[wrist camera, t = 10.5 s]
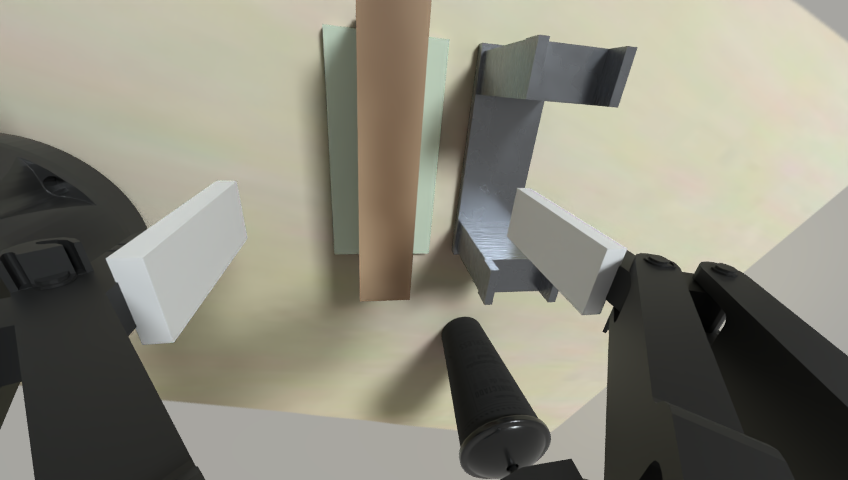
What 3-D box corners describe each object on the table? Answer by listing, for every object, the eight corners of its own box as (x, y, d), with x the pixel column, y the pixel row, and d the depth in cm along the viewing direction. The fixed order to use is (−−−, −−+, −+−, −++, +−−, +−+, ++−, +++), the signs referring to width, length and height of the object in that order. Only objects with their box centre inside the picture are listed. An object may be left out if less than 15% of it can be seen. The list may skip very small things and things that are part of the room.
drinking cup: (473, 295, 35) (583, 511, 17) (502, 334, 38) (617, 548, 21) (417, 329, 36) (466, 568, 18) (449, 365, 39) (517, 594, 22)
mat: (335, 251, 30) (334, 254, 29) (323, 25, 22) (322, 24, 21) (427, 250, 31) (428, 253, 31) (447, 40, 23) (449, 39, 23)
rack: (451, 250, 32) (481, 310, 23) (479, 44, 24) (539, 22, 16) (506, 250, 33) (554, 306, 24) (550, 52, 25) (642, 36, 17)
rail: (361, 263, 30) (359, 301, 25) (358, 11, 21) (355, -13, 16) (402, 262, 31) (409, 299, 25) (416, 18, 22) (431, -2, 17)
